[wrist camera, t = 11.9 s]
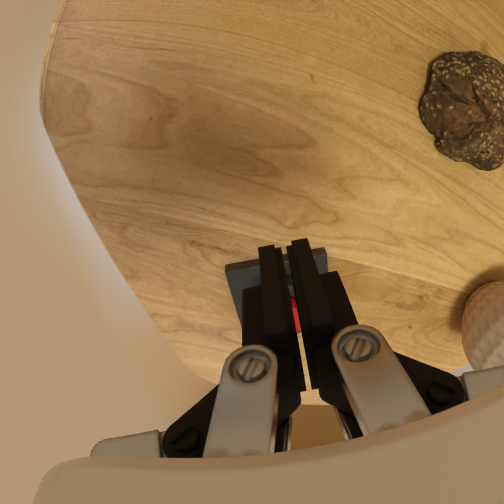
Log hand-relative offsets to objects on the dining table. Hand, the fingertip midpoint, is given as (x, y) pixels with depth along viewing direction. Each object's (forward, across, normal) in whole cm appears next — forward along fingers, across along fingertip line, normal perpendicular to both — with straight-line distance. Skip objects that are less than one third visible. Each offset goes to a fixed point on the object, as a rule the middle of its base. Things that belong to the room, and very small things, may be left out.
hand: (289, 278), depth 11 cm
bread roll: (+18, -21, -2) cm, 28 cm away
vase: (+18, -28, +25) cm, 41 cm away
